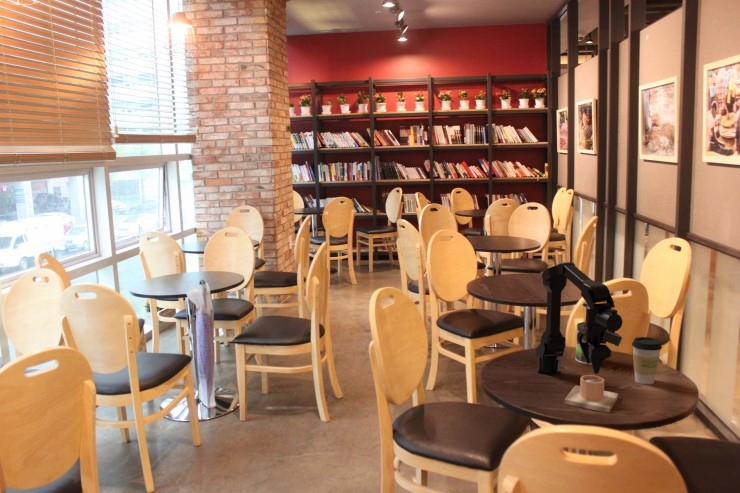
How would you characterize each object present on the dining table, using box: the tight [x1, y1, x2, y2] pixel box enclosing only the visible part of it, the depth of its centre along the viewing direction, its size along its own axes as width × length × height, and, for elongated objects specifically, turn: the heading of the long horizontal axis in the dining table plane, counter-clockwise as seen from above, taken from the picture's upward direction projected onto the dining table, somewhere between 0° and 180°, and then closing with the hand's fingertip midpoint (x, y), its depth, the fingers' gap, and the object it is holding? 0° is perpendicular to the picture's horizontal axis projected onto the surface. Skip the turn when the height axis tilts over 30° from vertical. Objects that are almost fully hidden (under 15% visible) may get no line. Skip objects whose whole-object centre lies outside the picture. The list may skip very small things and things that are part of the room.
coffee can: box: [574, 321, 605, 366], centre depth 249 cm, size 10×10×14 cm
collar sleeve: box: [579, 374, 605, 401], centre depth 211 cm, size 7×7×6 cm
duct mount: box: [563, 379, 619, 414], centre depth 212 cm, size 14×14×6 cm
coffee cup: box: [631, 336, 663, 385], centre depth 227 cm, size 10×10×15 cm
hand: (592, 368), depth 211 cm, fingers open, 9 cm apart
